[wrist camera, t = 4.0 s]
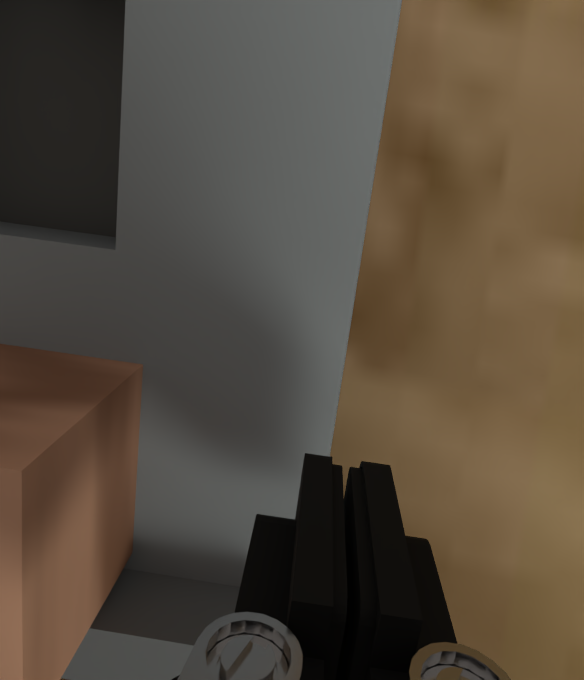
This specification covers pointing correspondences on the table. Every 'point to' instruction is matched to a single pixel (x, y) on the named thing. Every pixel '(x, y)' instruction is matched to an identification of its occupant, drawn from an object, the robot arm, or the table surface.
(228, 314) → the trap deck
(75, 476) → the block
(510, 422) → the table surface
